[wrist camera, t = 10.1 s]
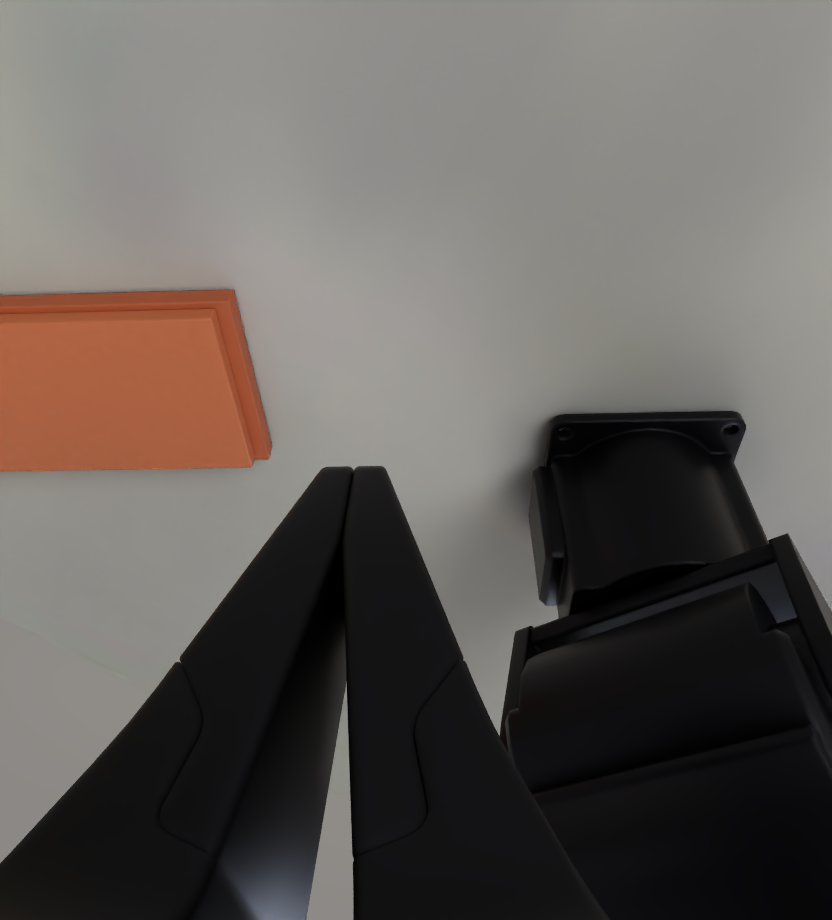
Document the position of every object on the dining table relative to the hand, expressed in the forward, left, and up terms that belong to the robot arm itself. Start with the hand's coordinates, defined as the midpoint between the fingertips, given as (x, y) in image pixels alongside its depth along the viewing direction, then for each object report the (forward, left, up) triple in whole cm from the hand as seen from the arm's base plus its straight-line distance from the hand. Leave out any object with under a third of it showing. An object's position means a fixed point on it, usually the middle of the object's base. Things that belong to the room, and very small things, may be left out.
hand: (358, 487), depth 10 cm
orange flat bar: (+12, +7, -12) cm, 18 cm away
